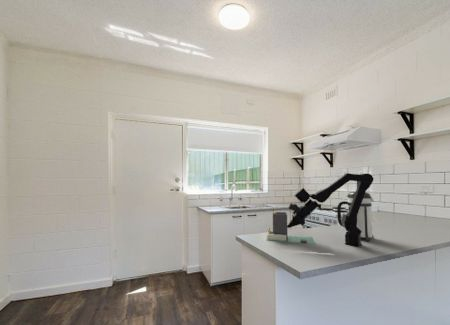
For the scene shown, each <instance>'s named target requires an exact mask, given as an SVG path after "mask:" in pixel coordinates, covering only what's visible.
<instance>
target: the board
mask: <svg viewBox="0 0 450 325" xmlns="http://www.w3.org/2000/svg"><path fill="white" fill-rule="evenodd" d="M270 229H271V228H270V227H268V229H267V231H268V232H267V235H266V241H267V242H281V243H293V244H294V243H296V244H309V245H316V244H317V243H316V242H315V240H314V238H313V236H301V235H300V236H299V235H298V236H297V235H288V240H286V235H282V234H273V230H270Z"/></svg>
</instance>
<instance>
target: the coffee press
mask: <svg viewBox="0 0 450 325" xmlns="http://www.w3.org/2000/svg"><path fill="white" fill-rule="evenodd" d="M355 192H356V191H349V192H348V194H347V195H346V198H347V201H340V202H339V203H338V204H337V207H336V208H337V212H336V214H337V222H338V225H339V226H341V227H343V226H342V221H341V219H342V212H341V211H342V210H341V209H342V206H343V205H347V213H348V212H349V209H350V206H351V203H352V201H353V198H354V195H355ZM373 203H375V200H374V199H373V198H372V196H371V194H370V193H369V192H367V191H366V192H365V195H364V198H363V200H362V203H361V206H360V209H359V212H358V214H357V226H356V227H358V228H359V229H360V230H361V231H362V232H361V238H363V239H364V241H365V242H369V241H370V239H374V238H375V236H374V234H373V221H372V220H373V219H372V204H373Z"/></svg>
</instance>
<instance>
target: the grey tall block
mask: <svg viewBox="0 0 450 325" xmlns="http://www.w3.org/2000/svg"><path fill="white" fill-rule="evenodd" d="M287 226H288V213H287V212H285V211H273V213H272V231H273V234H282V235H286V240H288V236H289V235H288V227H287Z"/></svg>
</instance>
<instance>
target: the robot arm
mask: <svg viewBox="0 0 450 325" xmlns="http://www.w3.org/2000/svg"><path fill="white" fill-rule="evenodd" d="M350 181H351V182H356V190H355V191H354V192H355V195H354V198H353V201H352V203H351V206H350V209H349V212H348V211H347V213H346V214H344V213H343V214H342V216H341V222H342V226H341V227H343V228H344V229H345V231H346V232H345V234H344V240H345V242H344V245H348V246H352V247H353V246H354V247H361V246H362V245H363V243H362V242H361V238H362V237H361V232H362V231H361V230H360V229H359V228H358V227H356V226H357V214H358V212H359V209H360V206H361V203H362V200H363V198H364V195H365V192H367V191H368V189H369V188H370V187H371V185H372V183H374V177H373V175H372V174H371V173H360V174H357V173H348V172H345V173H344V174H343V175H342V176H341V177H339V178H338V179H337V180H335V181H334V182H333V183H331V184H330V185H329V186H327V187H325V188H323V189H320V190H318V191H317V192H315V193H311V194H310V193H309V192H308V191H307V190H306V189H305V188H304V187H302V188H301V189H299V191H297V192H296V193H295V194H294V197H295V198H296V199H297V200H298V201H300V203H303V205H301V206H299V205H298V204H296V203H292V202H290V204H289V206H288V209H289V210H292V216H291V217H292V218H291V220H290V221H289V223H287V229H291V228H293V227H296V226H299V225H301V226H302V227H303V226H304V225H306V221H305V220H306V218H307V217H309V216H311V214H312V213H313V212H314V211H315V210H317V208H318V209H319V210H322V203H325V202H326V201H327V200H328V199H329V198H330V197H331V196H332V194H333V193H335V192H336V191H337V190H339V189H341V187H343V186H344V185H346V184H347V183H348V182H350ZM320 203H321V204H320Z"/></svg>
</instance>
